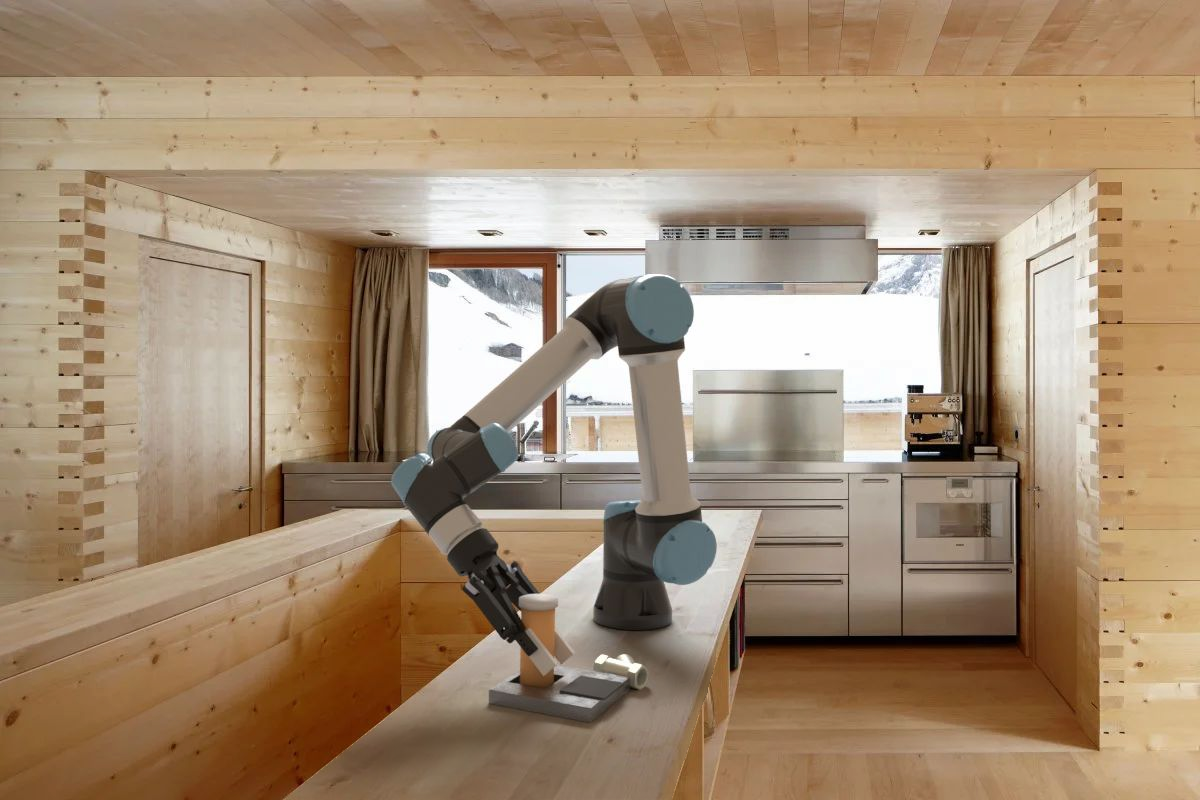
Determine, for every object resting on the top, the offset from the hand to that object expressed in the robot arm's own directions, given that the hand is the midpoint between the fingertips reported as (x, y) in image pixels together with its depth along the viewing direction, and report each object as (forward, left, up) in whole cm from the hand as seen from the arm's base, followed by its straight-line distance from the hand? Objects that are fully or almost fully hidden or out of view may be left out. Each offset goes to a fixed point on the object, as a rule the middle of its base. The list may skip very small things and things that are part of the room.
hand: (559, 663), depth 134 cm
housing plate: (0, 0, -5) cm, 5 cm away
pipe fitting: (-11, +6, -5) cm, 14 cm away
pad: (0, +5, -3) cm, 6 cm away
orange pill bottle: (0, -4, -5) cm, 6 cm away
